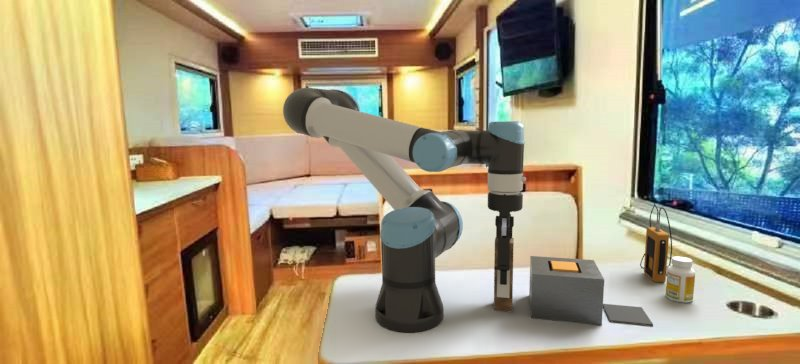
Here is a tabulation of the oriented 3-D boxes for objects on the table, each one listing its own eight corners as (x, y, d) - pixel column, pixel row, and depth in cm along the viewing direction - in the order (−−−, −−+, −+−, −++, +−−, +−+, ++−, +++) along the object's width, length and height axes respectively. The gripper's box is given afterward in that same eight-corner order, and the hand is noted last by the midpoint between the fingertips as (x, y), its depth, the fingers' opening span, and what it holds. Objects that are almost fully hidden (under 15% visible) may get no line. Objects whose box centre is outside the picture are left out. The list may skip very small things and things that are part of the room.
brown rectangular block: (493, 310, 93) (494, 241, 91) (494, 302, 97) (495, 237, 94) (512, 311, 92) (513, 243, 89) (512, 304, 96) (513, 237, 93)
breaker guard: (531, 317, 89) (532, 273, 87) (529, 295, 100) (530, 255, 99) (601, 325, 85) (604, 279, 84) (591, 300, 97) (593, 260, 95)
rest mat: (610, 321, 86) (610, 319, 86) (602, 305, 94) (602, 303, 94) (652, 326, 84) (653, 324, 84) (641, 308, 92) (641, 307, 92)
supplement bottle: (690, 295, 98) (693, 256, 97) (695, 304, 93) (698, 264, 92) (663, 292, 100) (666, 254, 99) (667, 301, 96) (670, 261, 94)
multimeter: (704, 291, 101) (711, 211, 98) (659, 288, 103) (665, 210, 100) (677, 269, 115) (682, 199, 112) (638, 268, 117) (642, 199, 114)
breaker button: (551, 296, 90) (552, 268, 89) (550, 287, 95) (550, 260, 94) (577, 298, 89) (578, 270, 88) (574, 289, 94) (575, 262, 93)
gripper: (523, 199, 81) (521, 310, 84) (522, 185, 98) (520, 279, 101) (485, 198, 83) (483, 307, 86) (490, 185, 100) (489, 276, 103)
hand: (503, 291), depth 94 cm, fingers open, 4 cm apart
